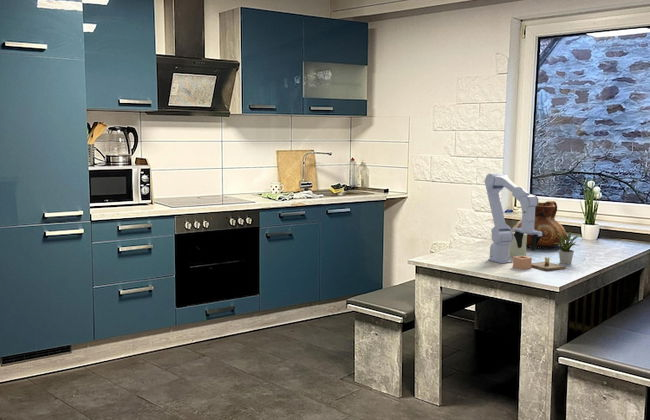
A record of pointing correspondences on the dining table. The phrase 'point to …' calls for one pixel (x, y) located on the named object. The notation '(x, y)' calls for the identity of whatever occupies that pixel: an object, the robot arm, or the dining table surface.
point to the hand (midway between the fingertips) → (526, 249)
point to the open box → (522, 262)
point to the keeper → (547, 265)
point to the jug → (545, 225)
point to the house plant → (566, 248)
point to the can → (514, 248)
